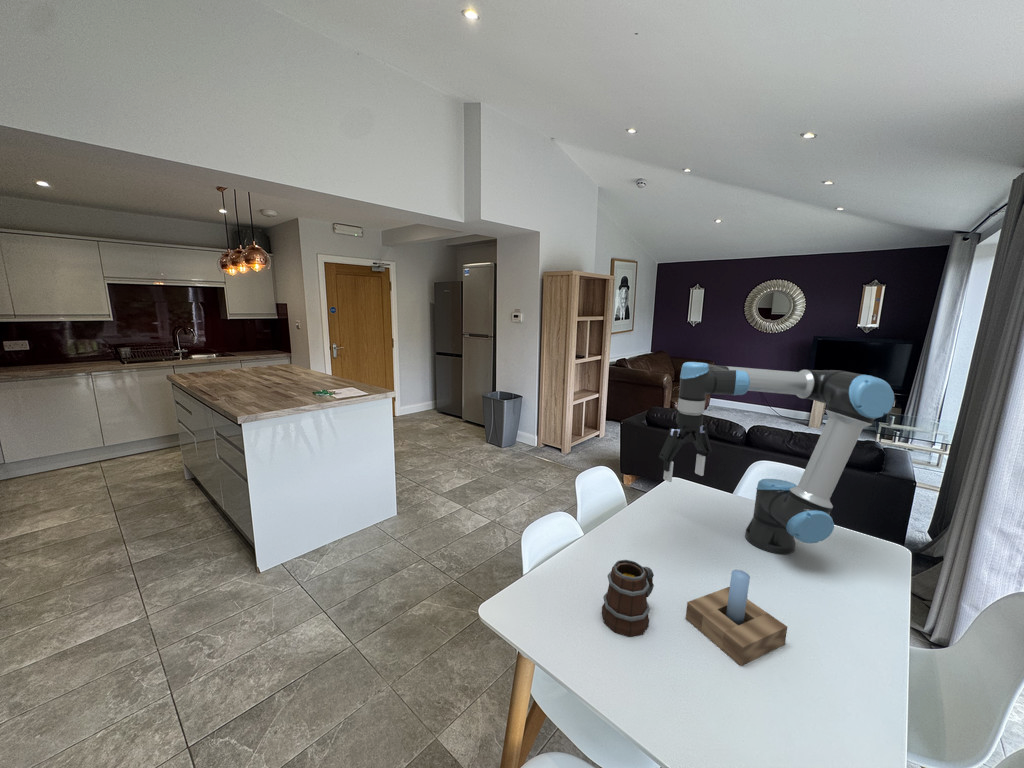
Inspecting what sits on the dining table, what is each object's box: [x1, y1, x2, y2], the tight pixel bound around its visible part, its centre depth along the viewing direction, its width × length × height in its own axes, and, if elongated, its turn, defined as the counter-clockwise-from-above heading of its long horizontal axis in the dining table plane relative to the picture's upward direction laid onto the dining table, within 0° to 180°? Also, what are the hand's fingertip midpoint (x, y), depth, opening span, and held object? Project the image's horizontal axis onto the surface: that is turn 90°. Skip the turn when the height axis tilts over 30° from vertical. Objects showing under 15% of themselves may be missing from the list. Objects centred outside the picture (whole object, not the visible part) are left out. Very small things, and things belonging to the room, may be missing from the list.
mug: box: [601, 559, 655, 638], centre depth 107 cm, size 16×12×15 cm
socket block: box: [685, 586, 788, 667], centre depth 104 cm, size 16×16×5 cm
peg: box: [726, 569, 751, 625], centre depth 103 cm, size 4×4×16 cm
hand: (683, 477), depth 130 cm, fingers open, 13 cm apart
